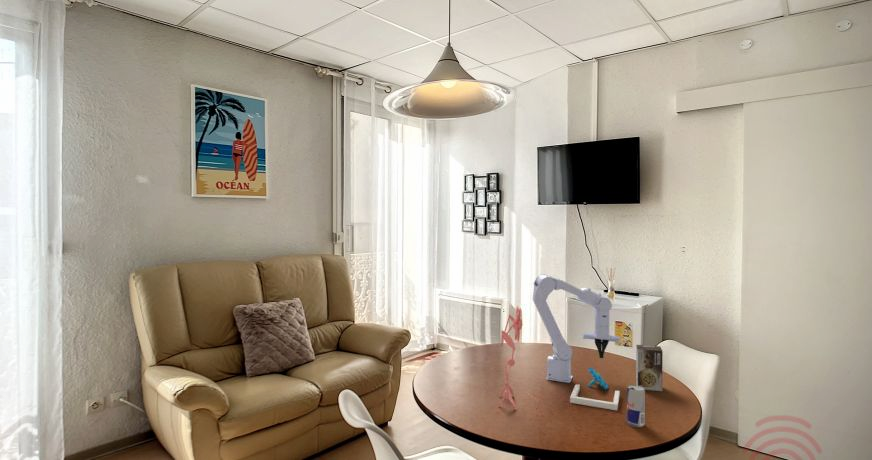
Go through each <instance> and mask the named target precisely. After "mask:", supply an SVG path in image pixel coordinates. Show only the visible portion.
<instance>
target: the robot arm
mask: <svg viewBox="0 0 872 460" xmlns="http://www.w3.org/2000/svg"><path fill="white" fill-rule="evenodd" d="M554 290H555V291H559V290H563V291H565V292H567V293H569V294H572V295H575V296H576V297H577V300H578V301H580V302H582V303H584V304H586V305H589V306H591V307H593V308H594V333H585V332H584V333H582V334H583V335H582V336H583V337H582V339H583V340H584V339H585V340H586V339H587V340H593V341H594V344H595V347H596V348H597V349H596V350H597V351H598V356H599V357H598V358H600V359H604V356H605V351H606V349H607V347H608V344H609V342H613V343H614V342H615V343H619V344H620V343H621V342H622V341H621V339H622V338H621V336H617V335H611V334H610V311H611V309H612V307H613V304H612V301H611V299H609V298H608V297H606V296H604V295H602V293H599V292H595V291H593V290H592V289H591V288H590V287H587V288H586V287H583V288H578V287H576V286H574V285H572V284H570V283H568V282H566V281H564V280H562V279H560V278H557V277H554V276H548V275H547V274H544V273H541V274H539V275H538V276H537V277H536V278H535V280H534V282H533V292H532V293H533V294H532V301H533V304H534V306H535V308H536V310H537V312H538V314H539V316H540V318H541V320H542V323H543V325H544V327H545V330H546V331H547V333H548V336H549V338H550V339H549V340H550V342H551V349H552V351H553V354H552V355H548V357H547V359H546V360H547V361H546V381H547V380H548V381H554V382H555V381H556V382H560V383H568V384H570V383H571V382H572V379H573V377H574V376H573V375H571V373H572V372H571V371H572V370H571V368H572V367H571V366H572V365H571V363H572V362H571V361H572V360H571V359H572V358H571V357H572V356H573V349H572V347H571V346H570V345H569V344H568V343H567V341H566V340H565V337H564V335H563V334H562V333H561V330H560V328H559V326H558V324H557V321H556V319H555V318H554V315H553V313H552V311H551V308H550V306H549V304H548V302H547V299H548V297H549V295H550V294H552V292H554Z"/></svg>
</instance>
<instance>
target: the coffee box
mask: <svg viewBox="0 0 872 460" xmlns="http://www.w3.org/2000/svg"><path fill="white" fill-rule="evenodd" d="M635 347H636V349H635V351H636V356H635V357H636V358H635V359H636V361H635V363H636V364H635V365H636V367H635V369H636V371H635V375H636V376H635V380H636V381H635V385H638V386H641V387H643V388H644V390H645V391H646V390H647V391H655V392H663V352H664V351H663V349H662V347H661V346H659V345H648V344H646V345H645V344H636V346H635Z"/></svg>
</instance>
